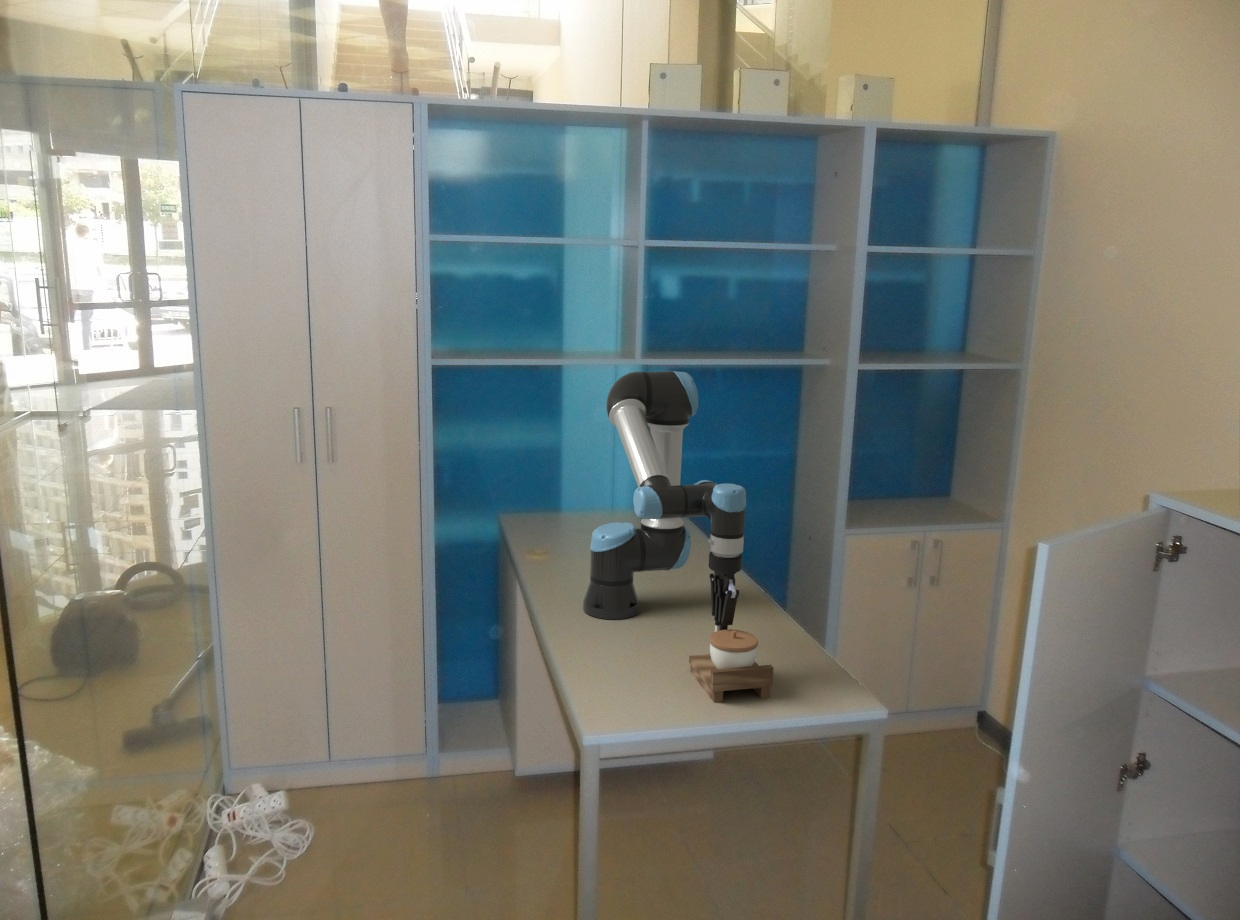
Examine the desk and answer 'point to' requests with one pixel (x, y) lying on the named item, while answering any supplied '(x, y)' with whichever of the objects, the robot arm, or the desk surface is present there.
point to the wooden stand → (730, 677)
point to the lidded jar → (732, 649)
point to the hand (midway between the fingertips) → (720, 649)
